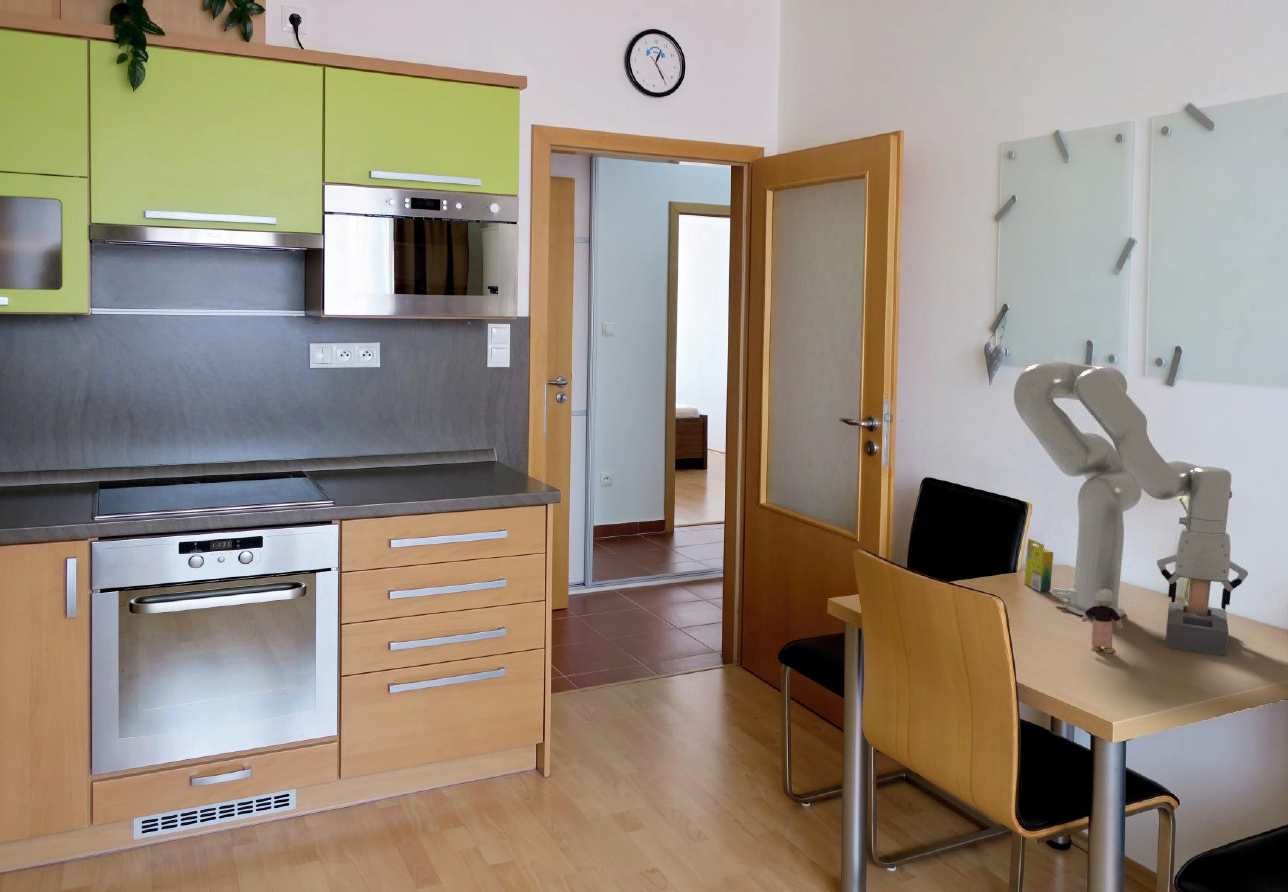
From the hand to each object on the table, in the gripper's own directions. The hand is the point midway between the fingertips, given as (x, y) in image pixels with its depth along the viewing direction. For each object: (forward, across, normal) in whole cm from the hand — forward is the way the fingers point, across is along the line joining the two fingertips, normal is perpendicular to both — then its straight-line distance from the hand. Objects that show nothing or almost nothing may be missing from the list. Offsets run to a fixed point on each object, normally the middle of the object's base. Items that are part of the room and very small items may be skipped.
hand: (1198, 604), depth 232 cm
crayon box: (+7, -34, +20) cm, 41 cm away
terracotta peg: (+5, 0, 0) cm, 5 cm away
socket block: (+6, 0, -4) cm, 8 cm away
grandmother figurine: (+7, -18, -22) cm, 29 cm away
